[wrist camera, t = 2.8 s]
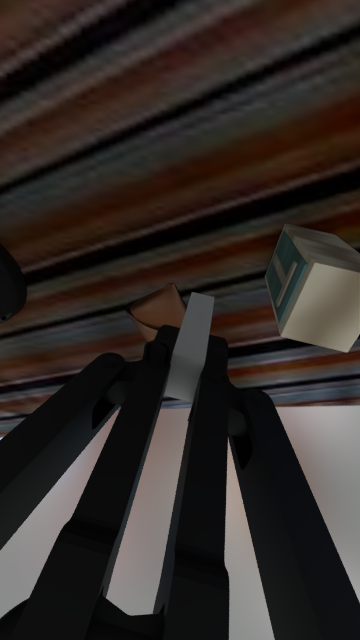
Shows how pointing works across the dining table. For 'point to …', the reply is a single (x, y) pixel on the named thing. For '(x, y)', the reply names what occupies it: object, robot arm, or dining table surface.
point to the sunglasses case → (157, 311)
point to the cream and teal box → (315, 288)
